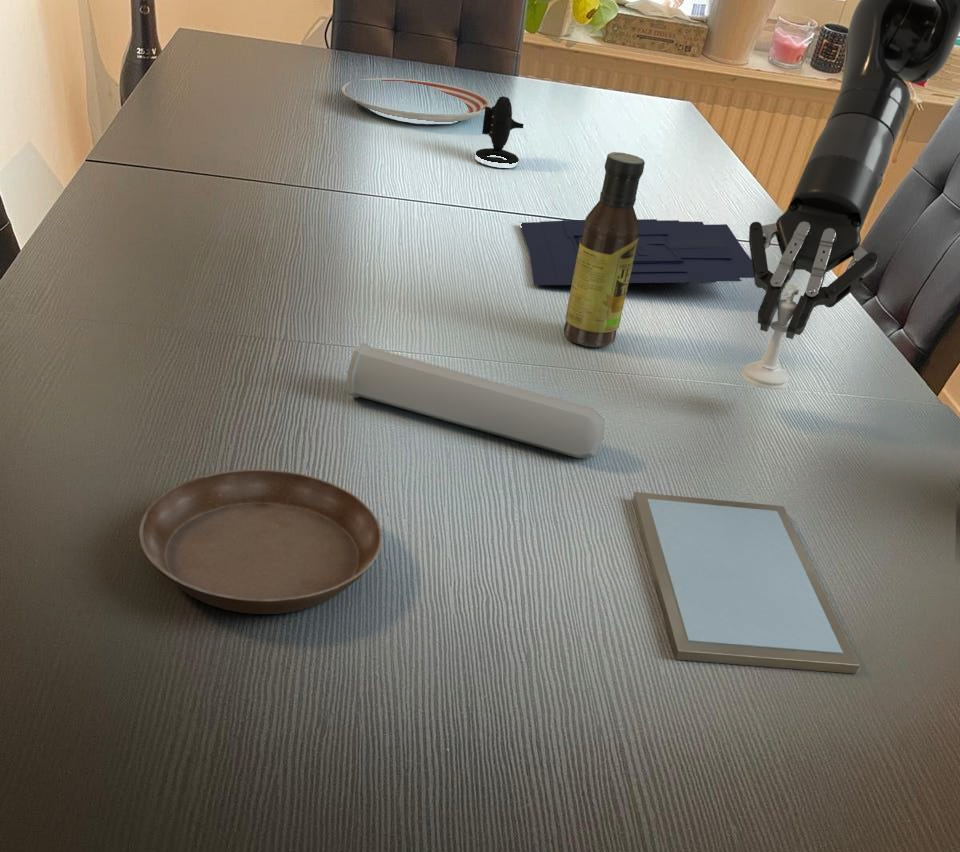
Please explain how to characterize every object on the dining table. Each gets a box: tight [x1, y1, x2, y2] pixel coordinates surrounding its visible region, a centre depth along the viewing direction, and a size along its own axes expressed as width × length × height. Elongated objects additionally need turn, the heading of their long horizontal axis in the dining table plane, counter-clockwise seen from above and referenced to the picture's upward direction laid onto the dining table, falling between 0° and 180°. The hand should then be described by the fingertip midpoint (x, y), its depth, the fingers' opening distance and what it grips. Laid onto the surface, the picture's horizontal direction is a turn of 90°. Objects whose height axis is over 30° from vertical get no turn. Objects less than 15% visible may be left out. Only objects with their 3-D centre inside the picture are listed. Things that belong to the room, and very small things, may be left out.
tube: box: [345, 342, 605, 460], centre depth 97 cm, size 5×5×25 cm
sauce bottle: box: [563, 151, 646, 348], centre depth 113 cm, size 6×6×20 cm
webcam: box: [475, 96, 524, 164], centre depth 168 cm, size 8×8×10 cm
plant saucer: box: [138, 468, 383, 615], centre depth 77 cm, size 18×18×3 cm
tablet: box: [632, 491, 860, 675], centre depth 84 cm, size 14×22×1 cm, turn 2°
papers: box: [520, 218, 754, 286], centre depth 139 cm, size 24×30×4 cm
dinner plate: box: [341, 77, 492, 122], centre depth 189 cm, size 27×27×3 cm
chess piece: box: [740, 283, 800, 390], centre depth 103 cm, size 5×5×10 cm
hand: (777, 330), depth 101 cm, fingers closed on chess piece
